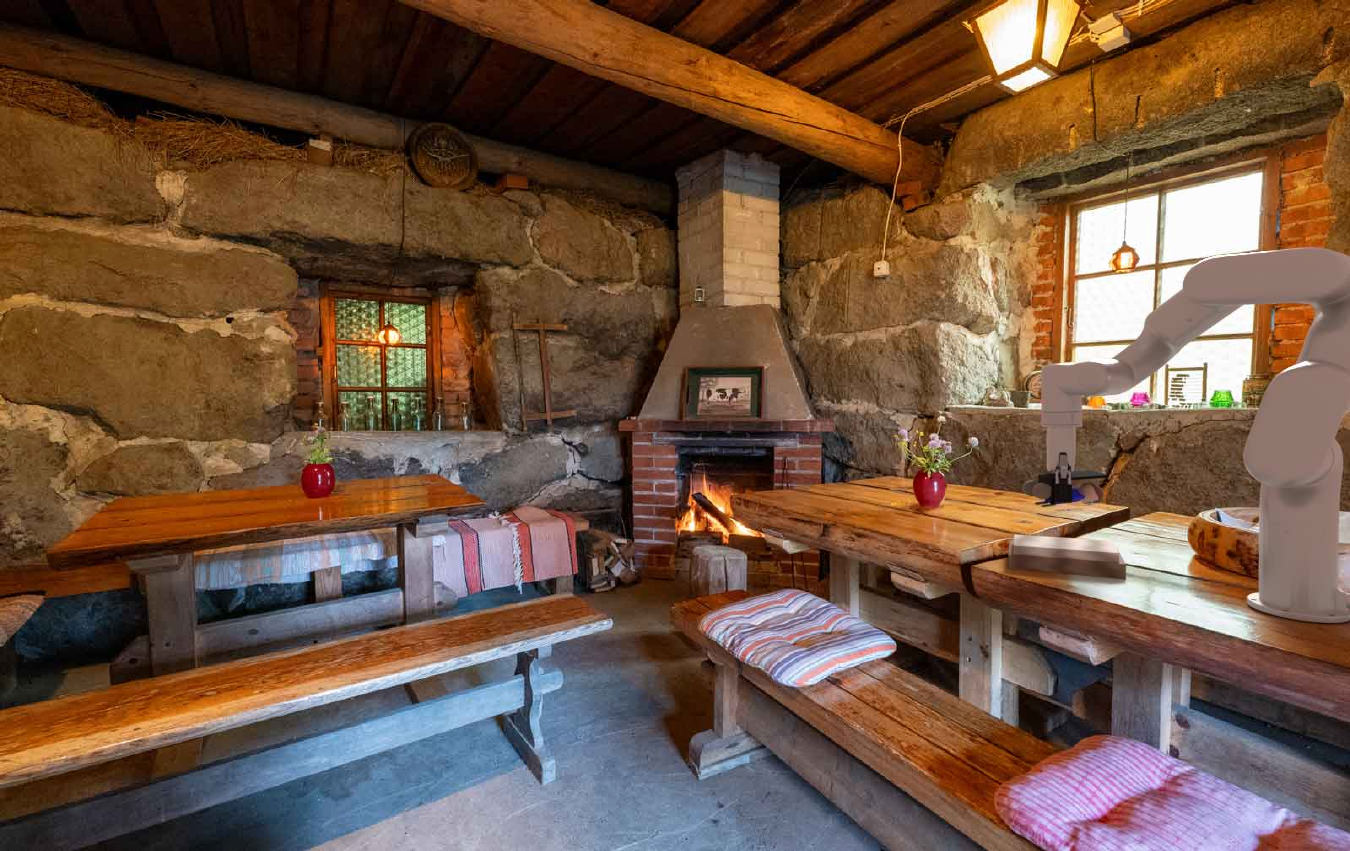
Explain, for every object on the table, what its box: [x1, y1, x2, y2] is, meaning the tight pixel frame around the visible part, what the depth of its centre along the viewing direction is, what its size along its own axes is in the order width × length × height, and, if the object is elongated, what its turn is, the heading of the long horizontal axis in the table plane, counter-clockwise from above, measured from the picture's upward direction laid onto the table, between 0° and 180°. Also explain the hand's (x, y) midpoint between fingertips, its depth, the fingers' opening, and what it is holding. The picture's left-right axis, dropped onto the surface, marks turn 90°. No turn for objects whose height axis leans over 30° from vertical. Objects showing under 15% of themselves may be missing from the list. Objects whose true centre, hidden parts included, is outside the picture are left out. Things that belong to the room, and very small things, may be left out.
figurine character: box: [1021, 469, 1108, 508], centre depth 135 cm, size 7×8×15 cm
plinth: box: [1008, 534, 1127, 580], centre depth 136 cm, size 21×13×5 cm, turn 60°
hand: (1062, 498), depth 135 cm, fingers closed on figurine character, 8 cm apart
